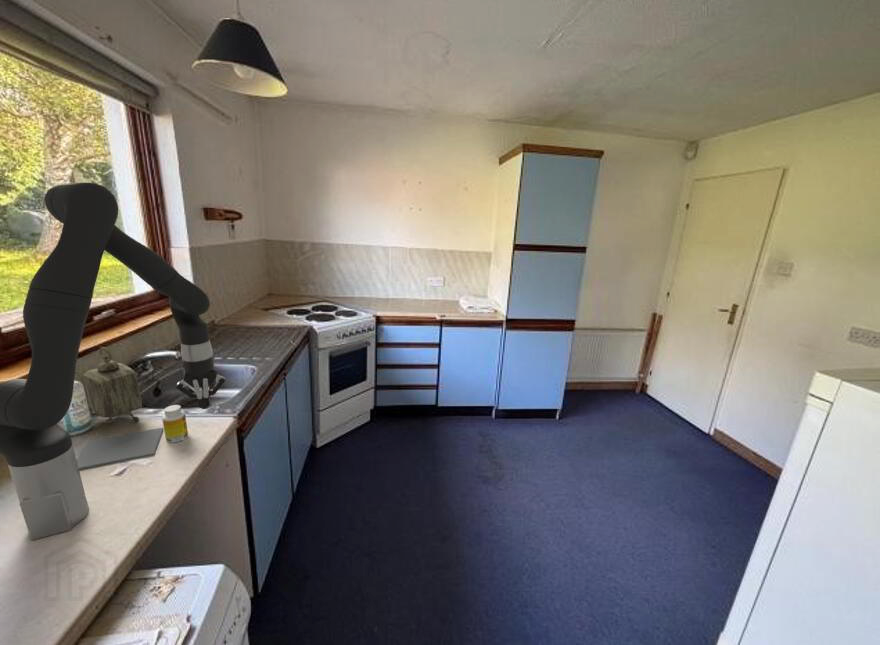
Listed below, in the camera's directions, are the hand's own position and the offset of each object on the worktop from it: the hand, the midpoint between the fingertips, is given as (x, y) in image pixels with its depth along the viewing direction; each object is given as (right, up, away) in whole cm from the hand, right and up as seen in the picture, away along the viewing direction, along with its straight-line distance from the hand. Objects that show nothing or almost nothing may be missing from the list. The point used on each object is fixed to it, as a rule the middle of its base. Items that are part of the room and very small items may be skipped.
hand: (205, 407), depth 112 cm
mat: (-19, -10, -8) cm, 23 cm away
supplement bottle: (-8, -9, -1) cm, 12 cm away
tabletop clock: (-32, -6, +6) cm, 33 cm away
